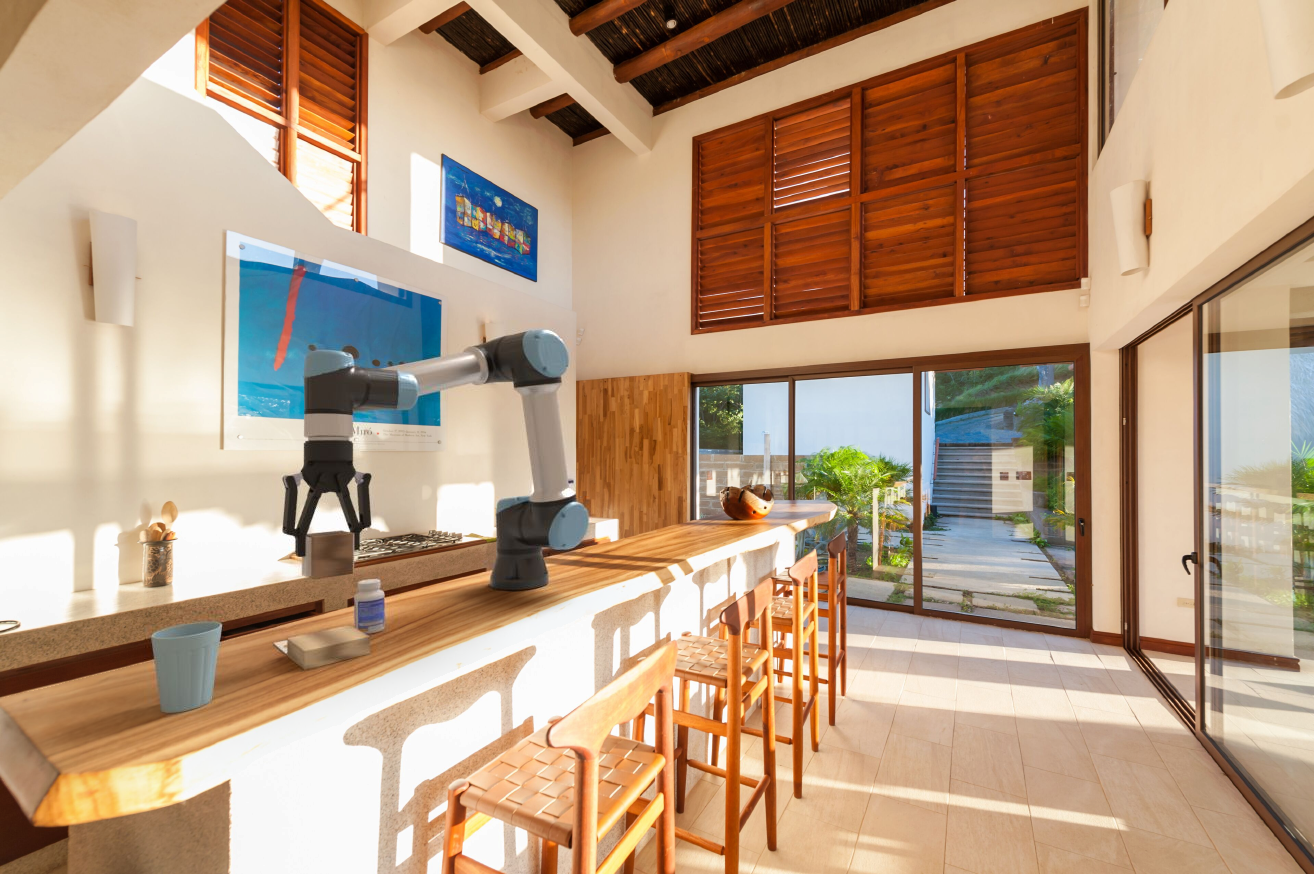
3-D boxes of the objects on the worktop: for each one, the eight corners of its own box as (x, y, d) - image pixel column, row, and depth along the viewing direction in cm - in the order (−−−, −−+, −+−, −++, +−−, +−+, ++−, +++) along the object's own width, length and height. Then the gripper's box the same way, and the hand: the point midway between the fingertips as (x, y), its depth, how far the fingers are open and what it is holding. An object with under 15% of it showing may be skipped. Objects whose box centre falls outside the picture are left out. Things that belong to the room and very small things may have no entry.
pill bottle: (390, 628, 114) (390, 579, 114) (365, 636, 109) (364, 585, 109) (374, 625, 117) (374, 576, 117) (348, 632, 112) (348, 582, 112)
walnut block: (341, 569, 104) (341, 530, 104) (353, 573, 100) (353, 533, 100) (303, 574, 100) (304, 534, 100) (314, 579, 96) (314, 537, 96)
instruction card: (333, 631, 113) (333, 629, 113) (347, 639, 107) (347, 638, 107) (273, 644, 105) (273, 642, 105) (285, 654, 100) (285, 652, 100)
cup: (134, 714, 77) (135, 636, 77) (190, 691, 85) (191, 620, 85) (182, 719, 76) (183, 639, 76) (234, 694, 83) (235, 622, 84)
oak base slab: (349, 641, 107) (349, 624, 107) (369, 653, 100) (369, 636, 100) (287, 655, 99) (287, 638, 99) (304, 670, 92) (304, 651, 92)
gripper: (377, 440, 110) (377, 561, 109) (259, 439, 96) (258, 578, 95) (393, 439, 105) (393, 566, 104) (270, 438, 91) (269, 585, 90)
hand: (328, 572), depth 100 cm, fingers closed on walnut block, 6 cm apart
